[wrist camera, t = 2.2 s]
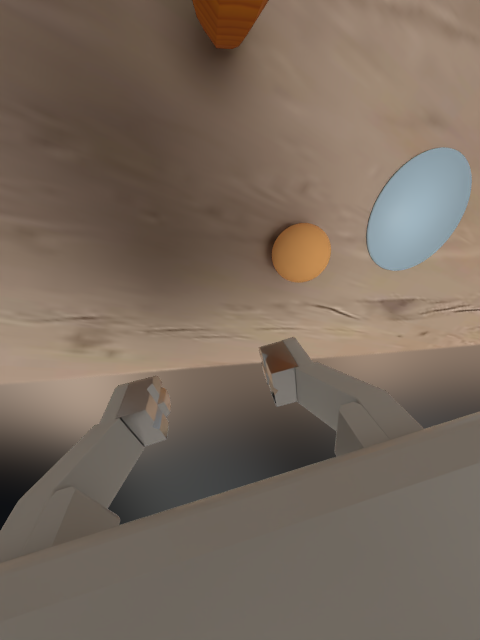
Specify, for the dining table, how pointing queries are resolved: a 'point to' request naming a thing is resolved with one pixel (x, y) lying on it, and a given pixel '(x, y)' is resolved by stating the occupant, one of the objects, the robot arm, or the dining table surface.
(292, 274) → the ball
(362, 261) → the dining table surface
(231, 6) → the carrot
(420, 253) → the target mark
